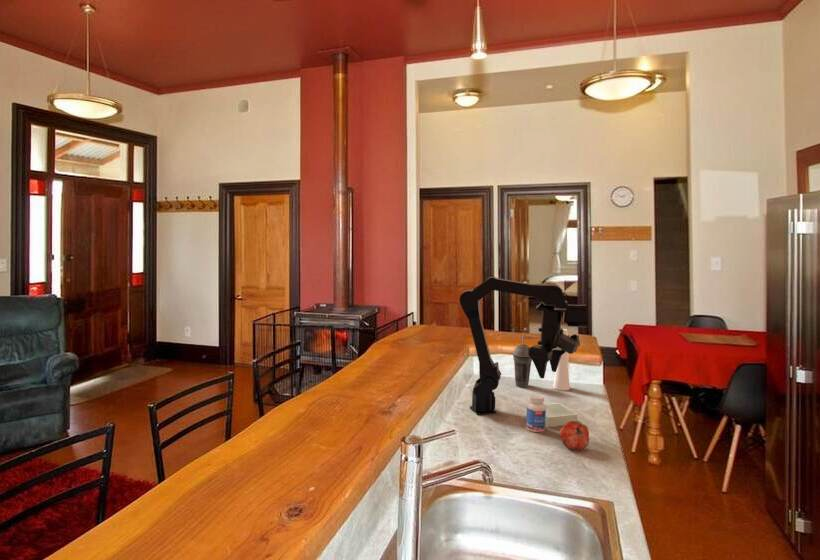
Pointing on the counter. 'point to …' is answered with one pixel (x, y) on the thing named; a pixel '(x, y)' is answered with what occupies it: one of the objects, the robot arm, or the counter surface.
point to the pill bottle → (536, 413)
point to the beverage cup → (522, 365)
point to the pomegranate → (575, 435)
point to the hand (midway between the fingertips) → (548, 374)
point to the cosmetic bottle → (562, 371)
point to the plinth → (558, 415)
